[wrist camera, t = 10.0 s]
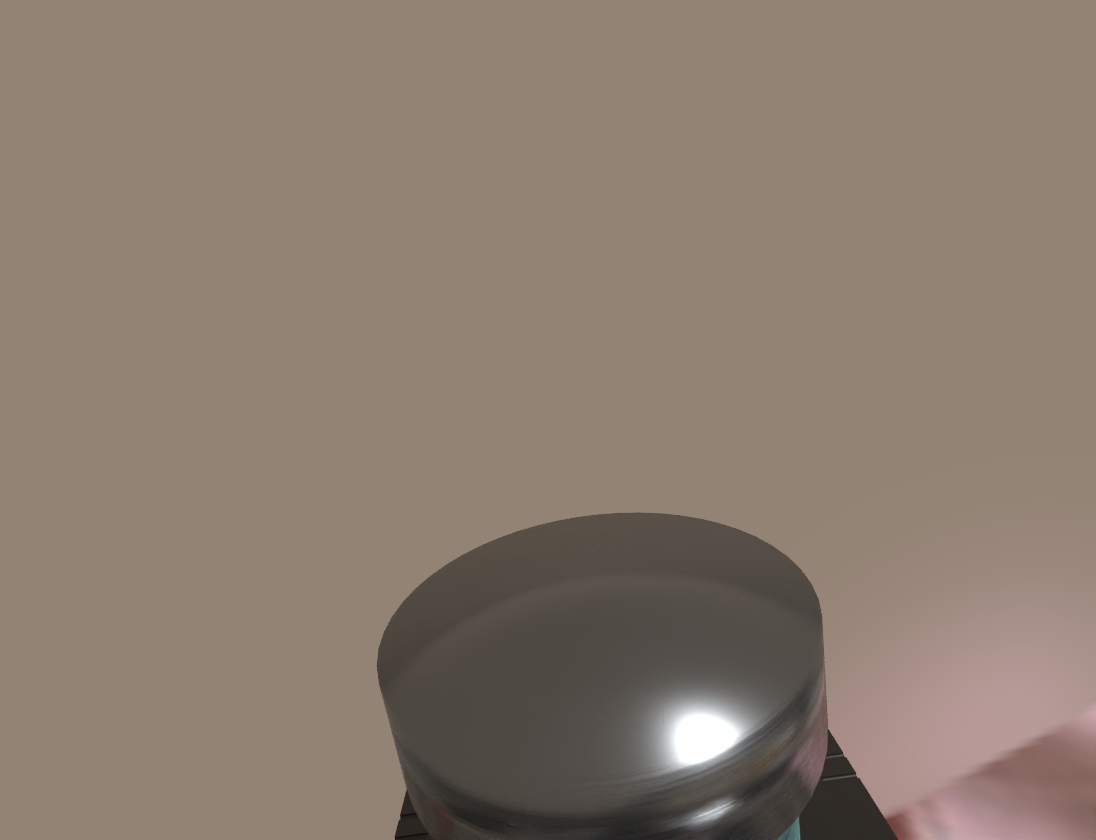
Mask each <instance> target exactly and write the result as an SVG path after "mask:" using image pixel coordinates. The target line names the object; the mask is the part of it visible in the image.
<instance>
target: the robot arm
mask: <svg viewBox="0 0 1096 840" xmlns="http://www.w3.org/2000/svg"><path fill="white" fill-rule="evenodd" d="M400 817H401V818H400V820H399V822H398V826H397V830H396V834H395V840H435V839H434V838H433V837H432V836H431V835H430V834H429V833H428V831H427V830H426V829H425V827H424V825H423V823H422V822H421V820H420V818H419V817H418V815H417V813H416V812H415V810H414V807H413V805H412V802H411V799H410V796H409V793H408V791H406V794H405V798H404V803H403V807H402V810H401V814H400ZM799 826H800V840H898V839H897V837H896V836H895V834H894V832H893V831H892V829H891V828H890V826H889V824H888V823H887V821H886V820H885V818H884V817H883V815H882V813H881V812H880V810H879V809H878V807H877V806H876V804H875V802H874V801H873V799H872V798H871V796H870V794H869V793H868V791H867V790H866V788H865V786H864V785H863V783H862V782H861V780H860V779H859V778H857V776H856V772H855V771H854V769H853V768H852V766H851V764H850V763H849V761H848V760H847V758H846V757H844V755H843V752H842V750H841V748H840V747H839V745H838V744H837V743H836V741H835V739H834V737H833V736H832V734H831V733H830V731H829V730H828V742H827V753H826V757H825V762H824V766H823V771H822V774H821V777H820V779H819V781H818V783H817V786H816V788H815V790H814V792H813V795H812V797H811V799H810V800H809V802H808V803H807V805H806V806H805V808H804V809H803V810H802V812H801V813H800V815H799Z"/></svg>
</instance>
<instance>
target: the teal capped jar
mask: <svg viewBox="0 0 1096 840" xmlns="http://www.w3.org/2000/svg"><path fill="white" fill-rule="evenodd" d="M377 671H378V679H379V685H380V689H381V693H382V697H383V700H384V704H385V708H386V712H387V715H388V719H389V723H390V727H391V731H392V735H393V738H394V742H395V746H396V750H397V754H398V757H399V761H400V765H401V769H402V773H403V776H404V780H405V784H406V788H407V791H408V793H409V796H410V799H411V802H412V805H413V807H414V810H415V812H416V813H417V815H418V817H419V818H420V820H421V822H422V823H423V825H424V827H425V829H426V830H427V831H428V833H429V834H430V835H431V836H432V837H433V838H434V839H435V840H800V826H799V815H800V813H801V812H802V810H803V809H804V808H805V806H806V805H807V803H808V802H809V800H810V799H811V797H812V795H813V792H814V790H815V788H816V786H817V783H818V781H819V779H820V777H821V774H822V771H823V766H824V762H825V757H826V753H827V742H828V720H827V700H826V684H825V683H826V681H825V663H824V645H823V625H822V614H821V609H820V604H819V599H818V597H817V595H816V593H815V591H814V589H813V586H812V585H811V583H810V581H809V580H808V578H807V577H806V576H805V574H804V573H803V572H802V570H801V569H800V568H799V567H798V566H797V565H796V564H795V563H794V562H793V561H792V560H791V559H790V558H789V557H787V556H786V555H784V554H783V553H782V552H780V551H779V550H777V549H776V548H775V547H773V546H772V545H770V544H768V543H766V542H764V541H763V540H761V539H759V538H757V537H755V536H753V535H750V534H748V533H746V532H743V531H741V530H738V529H736V528H732V527H729V526H726V525H723V524H719V523H716V522H712V521H707V520H703V519H698V518H692V517H686V516H680V515H670V514H659V513H658V514H657V513H613V514H601V515H600V514H599V515H591V516H583V517H576V518H570V519H565V520H559V521H555V522H551V523H546V524H542V525H538V526H534V527H531V528H528V529H524V530H521V531H517V532H515V533H512V534H509V535H506V536H503V537H501V538H498V539H496V540H493V541H491V542H489V543H486V544H484V545H482V546H479V547H477V548H475V549H473V550H471V551H470V552H468V553H466V554H464V555H462V556H460V557H459V558H457V559H455V560H453V561H452V562H450V563H448V564H447V565H445V566H444V567H442V568H441V569H440V570H438V571H437V572H435V573H434V574H433V575H431V576H430V577H429V578H427V579H426V580H425V581H424V582H423V583H422V584H420V585H419V586H418V587H417V588H416V589H415V590H414V591H413V592H412V593H411V594H410V595H409V596H408V597H407V598H406V599H405V600H404V601H403V603H402V604H401V605H400V607H399V608H398V610H397V611H396V612H395V614H394V615H393V616H392V618H391V620H390V622H389V624H388V626H387V627H386V630H385V631H384V634H383V637H382V640H381V644H380V646H379V651H378V660H377Z"/></svg>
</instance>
